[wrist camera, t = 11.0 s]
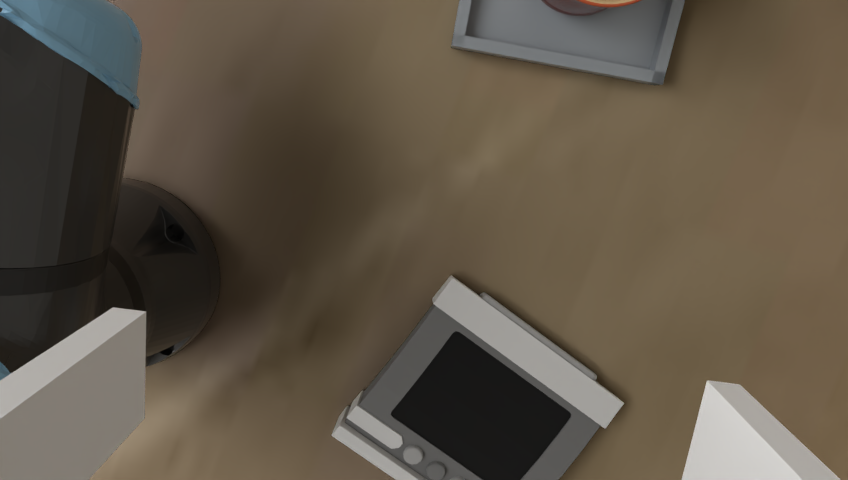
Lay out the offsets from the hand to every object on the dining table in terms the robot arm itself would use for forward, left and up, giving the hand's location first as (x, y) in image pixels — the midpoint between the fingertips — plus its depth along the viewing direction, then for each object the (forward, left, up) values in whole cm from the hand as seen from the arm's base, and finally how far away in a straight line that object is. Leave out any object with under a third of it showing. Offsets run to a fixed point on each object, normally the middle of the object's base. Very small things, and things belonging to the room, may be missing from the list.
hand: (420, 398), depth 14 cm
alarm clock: (+6, -17, -34) cm, 38 cm away
